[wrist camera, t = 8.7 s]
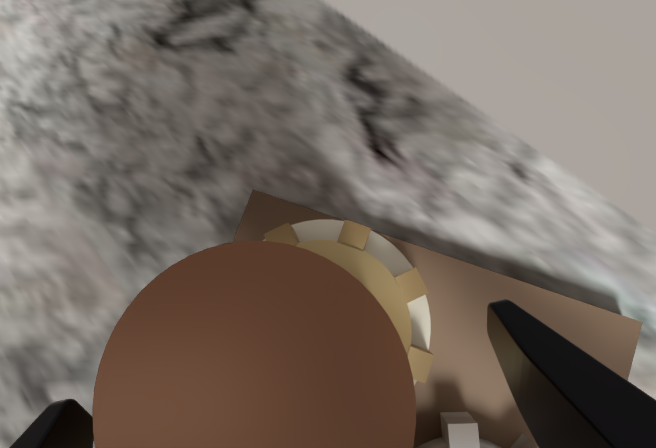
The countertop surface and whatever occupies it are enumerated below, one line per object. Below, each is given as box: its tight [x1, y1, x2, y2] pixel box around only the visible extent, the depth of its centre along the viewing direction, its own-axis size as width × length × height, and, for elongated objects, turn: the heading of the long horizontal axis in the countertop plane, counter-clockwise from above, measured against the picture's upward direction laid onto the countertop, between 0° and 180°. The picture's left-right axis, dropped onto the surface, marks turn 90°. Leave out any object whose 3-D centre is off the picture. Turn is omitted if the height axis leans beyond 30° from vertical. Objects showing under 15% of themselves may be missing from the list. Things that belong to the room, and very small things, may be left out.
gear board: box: [232, 190, 642, 448], centre depth 17 cm, size 15×17×4 cm
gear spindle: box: [93, 219, 434, 448], centre depth 12 cm, size 9×9×12 cm
